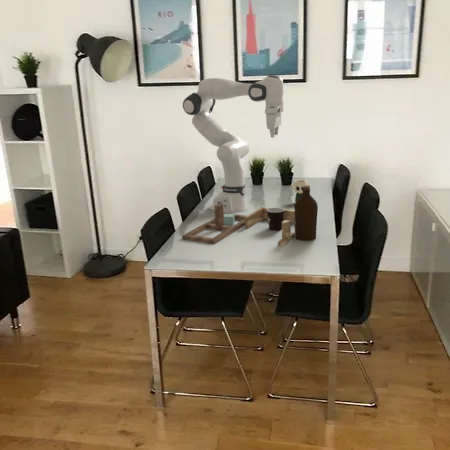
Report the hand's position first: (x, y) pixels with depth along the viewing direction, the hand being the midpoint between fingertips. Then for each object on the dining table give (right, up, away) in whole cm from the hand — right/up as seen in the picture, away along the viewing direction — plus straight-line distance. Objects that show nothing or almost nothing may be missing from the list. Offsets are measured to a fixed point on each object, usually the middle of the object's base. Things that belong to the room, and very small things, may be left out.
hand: (274, 136), depth 264 cm
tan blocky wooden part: (+3, -54, -26) cm, 60 cm away
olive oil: (+13, -52, -23) cm, 58 cm away
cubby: (+2, -46, -3) cm, 46 cm away
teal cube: (-23, -45, +3) cm, 51 cm away
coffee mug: (0, -48, -6) cm, 48 cm away
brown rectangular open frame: (-28, -48, -5) cm, 56 cm away
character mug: (+19, -33, +38) cm, 54 cm away
